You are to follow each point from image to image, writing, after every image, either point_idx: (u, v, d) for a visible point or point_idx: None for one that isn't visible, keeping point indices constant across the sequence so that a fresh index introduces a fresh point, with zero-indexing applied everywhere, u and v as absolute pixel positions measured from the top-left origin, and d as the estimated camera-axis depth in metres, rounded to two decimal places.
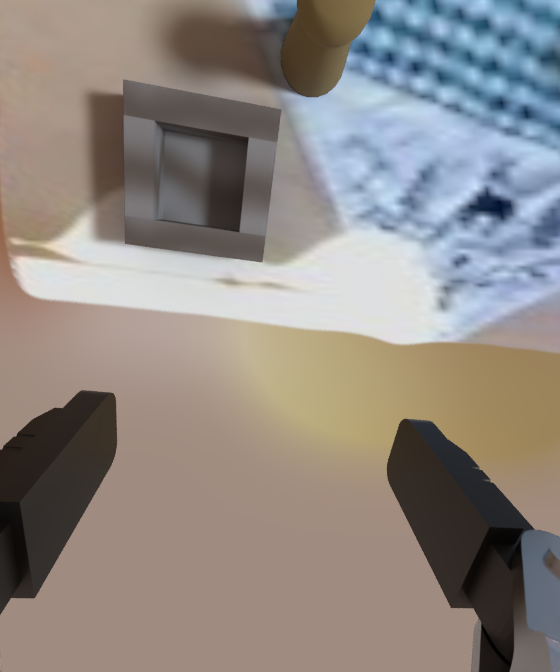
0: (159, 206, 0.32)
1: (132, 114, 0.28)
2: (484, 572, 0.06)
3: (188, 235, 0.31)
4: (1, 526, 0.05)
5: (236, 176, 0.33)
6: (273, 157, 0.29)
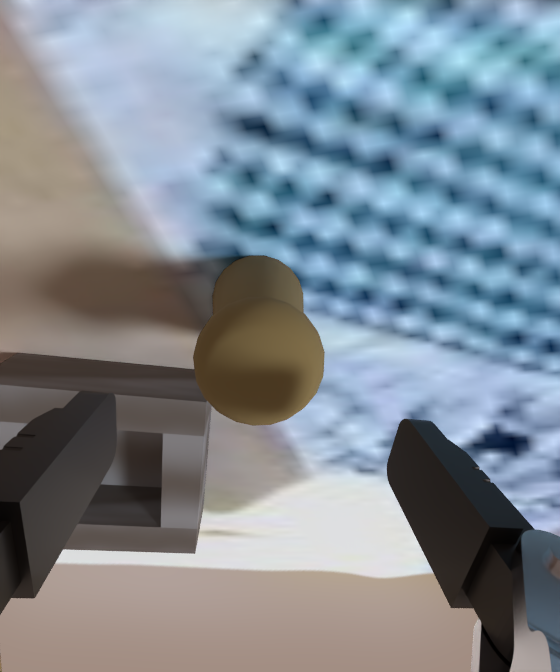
0: None
1: None
2: (483, 573, 0.06)
3: (90, 534, 0.23)
4: (1, 526, 0.05)
5: (161, 435, 0.25)
6: (200, 451, 0.21)
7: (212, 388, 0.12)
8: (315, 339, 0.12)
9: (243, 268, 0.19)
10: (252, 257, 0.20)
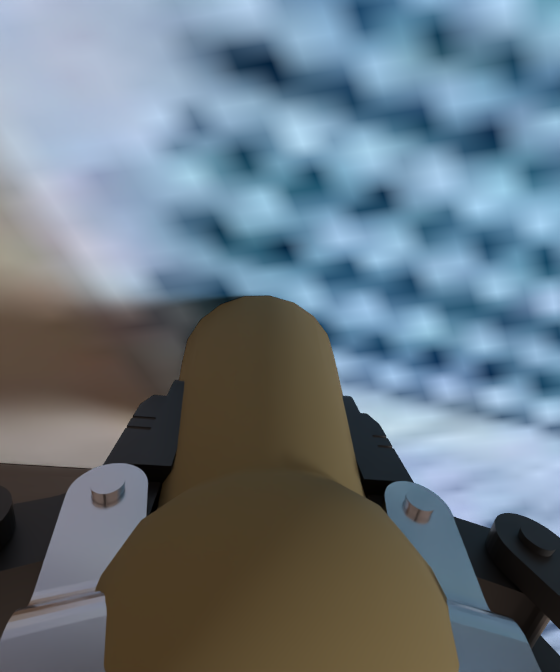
0: None
1: None
2: None
3: None
4: (155, 486, 0.06)
5: None
6: None
7: None
8: None
9: (232, 326, 0.10)
10: (250, 301, 0.12)
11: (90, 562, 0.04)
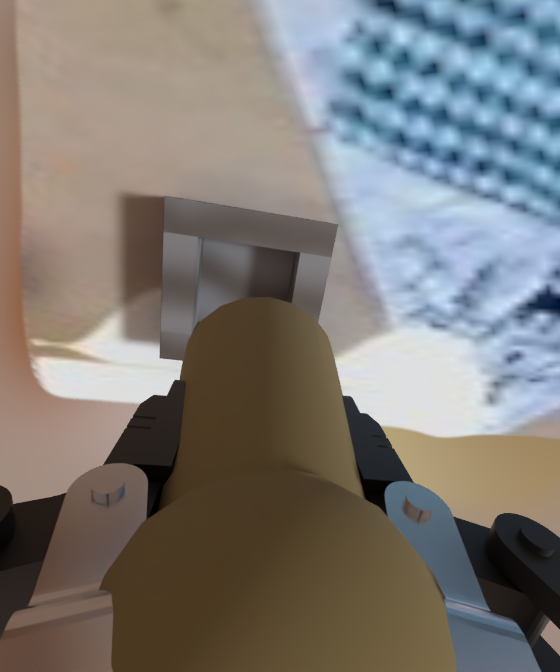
0: (196, 313, 0.29)
1: (173, 231, 0.25)
2: None
3: None
4: (155, 486, 0.06)
5: (279, 278, 0.30)
6: (326, 272, 0.27)
7: None
8: None
9: (233, 328, 0.10)
10: (250, 302, 0.12)
11: (91, 562, 0.04)
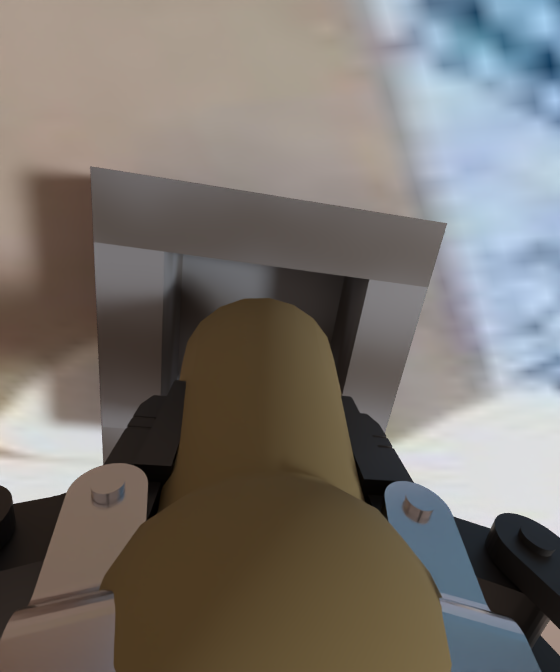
0: (171, 385, 0.17)
1: (114, 240, 0.12)
2: None
3: None
4: (155, 486, 0.06)
5: (317, 319, 0.17)
6: (416, 315, 0.14)
7: None
8: None
9: (232, 329, 0.10)
10: (249, 303, 0.12)
11: (91, 564, 0.04)
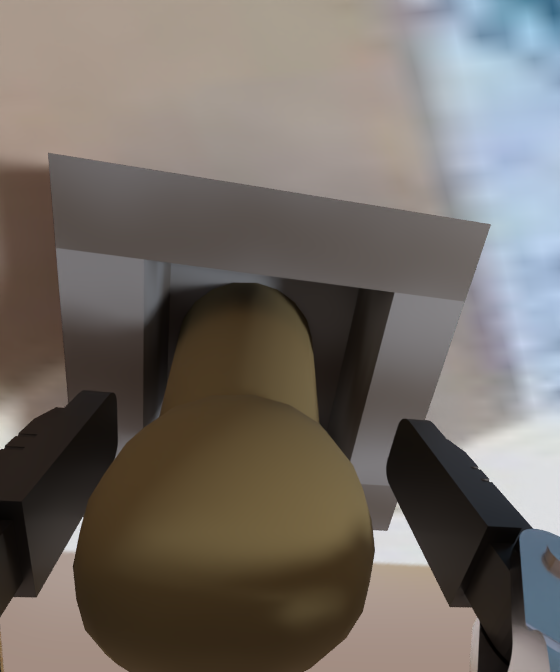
0: (158, 412, 0.14)
1: (81, 245, 0.10)
2: (483, 571, 0.06)
3: None
4: (3, 525, 0.05)
5: (327, 335, 0.15)
6: (449, 334, 0.12)
7: (107, 646, 0.05)
8: (360, 518, 0.05)
9: (221, 306, 0.12)
10: (238, 286, 0.13)
11: None
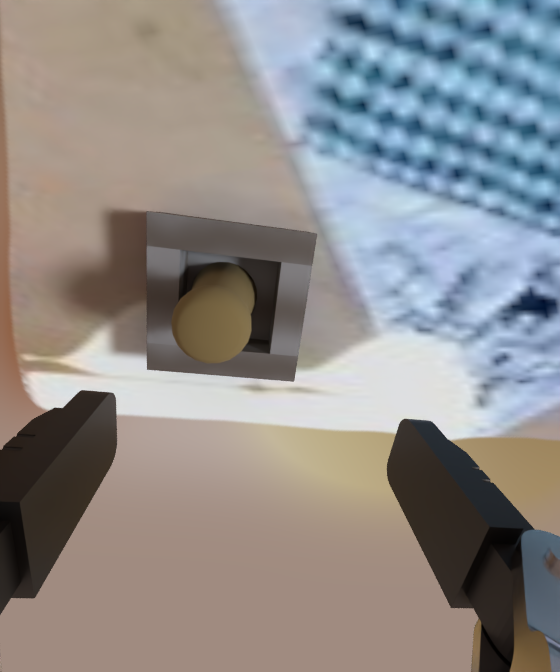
0: None
1: (156, 244, 0.25)
2: (484, 572, 0.06)
3: None
4: (1, 526, 0.05)
5: (264, 288, 0.31)
6: (307, 280, 0.27)
7: (181, 337, 0.20)
8: (243, 309, 0.21)
9: (211, 270, 0.28)
10: (219, 263, 0.29)
11: None
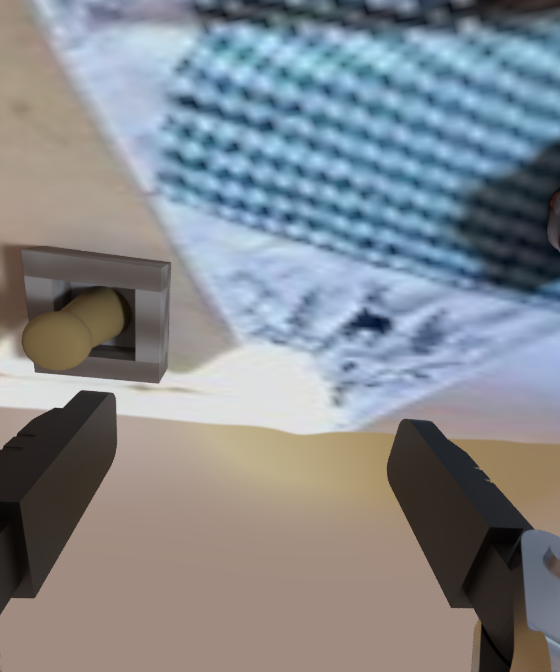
0: None
1: (31, 275, 0.32)
2: (484, 573, 0.06)
3: (90, 364, 0.36)
4: (1, 526, 0.05)
5: None
6: (158, 303, 0.34)
7: (27, 351, 0.27)
8: (75, 331, 0.28)
9: (83, 294, 0.34)
10: (95, 287, 0.36)
11: None
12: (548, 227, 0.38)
